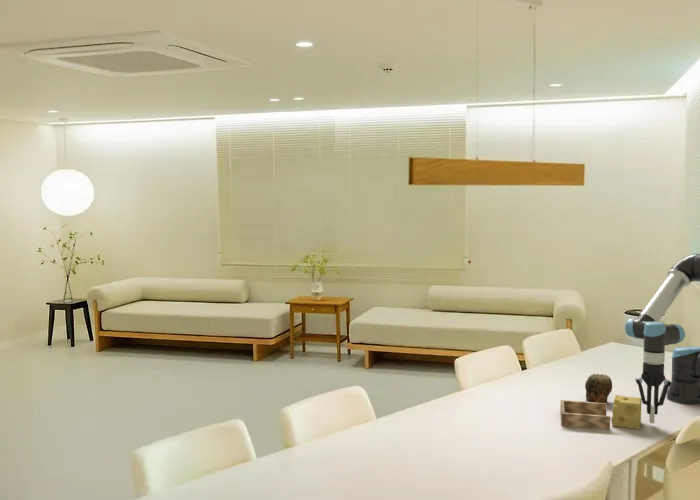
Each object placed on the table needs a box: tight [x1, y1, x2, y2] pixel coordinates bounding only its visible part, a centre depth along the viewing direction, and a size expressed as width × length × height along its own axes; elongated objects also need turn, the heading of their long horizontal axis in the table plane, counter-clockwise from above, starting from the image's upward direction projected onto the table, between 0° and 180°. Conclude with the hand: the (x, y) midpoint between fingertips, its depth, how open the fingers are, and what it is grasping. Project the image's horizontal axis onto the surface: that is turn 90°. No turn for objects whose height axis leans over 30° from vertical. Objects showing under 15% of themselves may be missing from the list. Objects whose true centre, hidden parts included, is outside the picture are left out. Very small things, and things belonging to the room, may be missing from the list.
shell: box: [584, 373, 613, 404], centre depth 304 cm, size 11×11×12 cm
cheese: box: [611, 394, 642, 430], centre depth 274 cm, size 10×11×10 cm
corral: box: [559, 399, 611, 431], centre depth 279 cm, size 18×18×5 cm
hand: (651, 422), depth 272 cm, fingers closed
